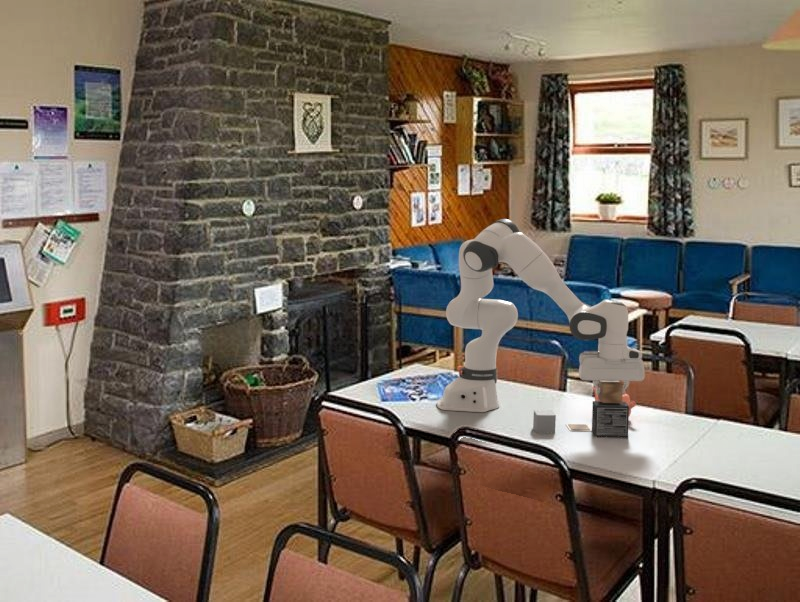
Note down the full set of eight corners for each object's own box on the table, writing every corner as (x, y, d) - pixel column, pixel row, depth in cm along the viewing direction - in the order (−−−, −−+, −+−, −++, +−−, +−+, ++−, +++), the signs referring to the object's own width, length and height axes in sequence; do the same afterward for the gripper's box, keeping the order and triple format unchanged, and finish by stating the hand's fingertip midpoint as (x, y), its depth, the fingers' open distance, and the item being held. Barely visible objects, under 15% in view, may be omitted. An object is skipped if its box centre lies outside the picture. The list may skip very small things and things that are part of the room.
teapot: (632, 415, 280) (633, 386, 279) (635, 424, 268) (636, 395, 267) (590, 413, 283) (591, 384, 281) (591, 422, 271) (592, 392, 270)
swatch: (570, 431, 260) (570, 429, 260) (565, 424, 267) (565, 423, 267) (592, 431, 260) (592, 430, 260) (587, 425, 267) (587, 423, 267)
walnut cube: (602, 403, 252) (603, 384, 252) (598, 398, 258) (599, 379, 258) (622, 403, 252) (623, 384, 252) (616, 398, 258) (617, 380, 258)
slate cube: (536, 433, 258) (536, 415, 257) (533, 428, 264) (533, 410, 263) (555, 433, 258) (555, 415, 257) (551, 428, 264) (552, 410, 263)
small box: (624, 432, 260) (625, 400, 258) (628, 438, 253) (630, 406, 252) (590, 431, 260) (592, 399, 259) (594, 437, 254) (596, 405, 252)
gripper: (581, 352, 250) (579, 396, 252) (647, 353, 250) (645, 396, 252) (577, 348, 256) (575, 391, 258) (641, 349, 256) (639, 391, 258)
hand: (610, 394), depth 255 cm, fingers open, 6 cm apart
